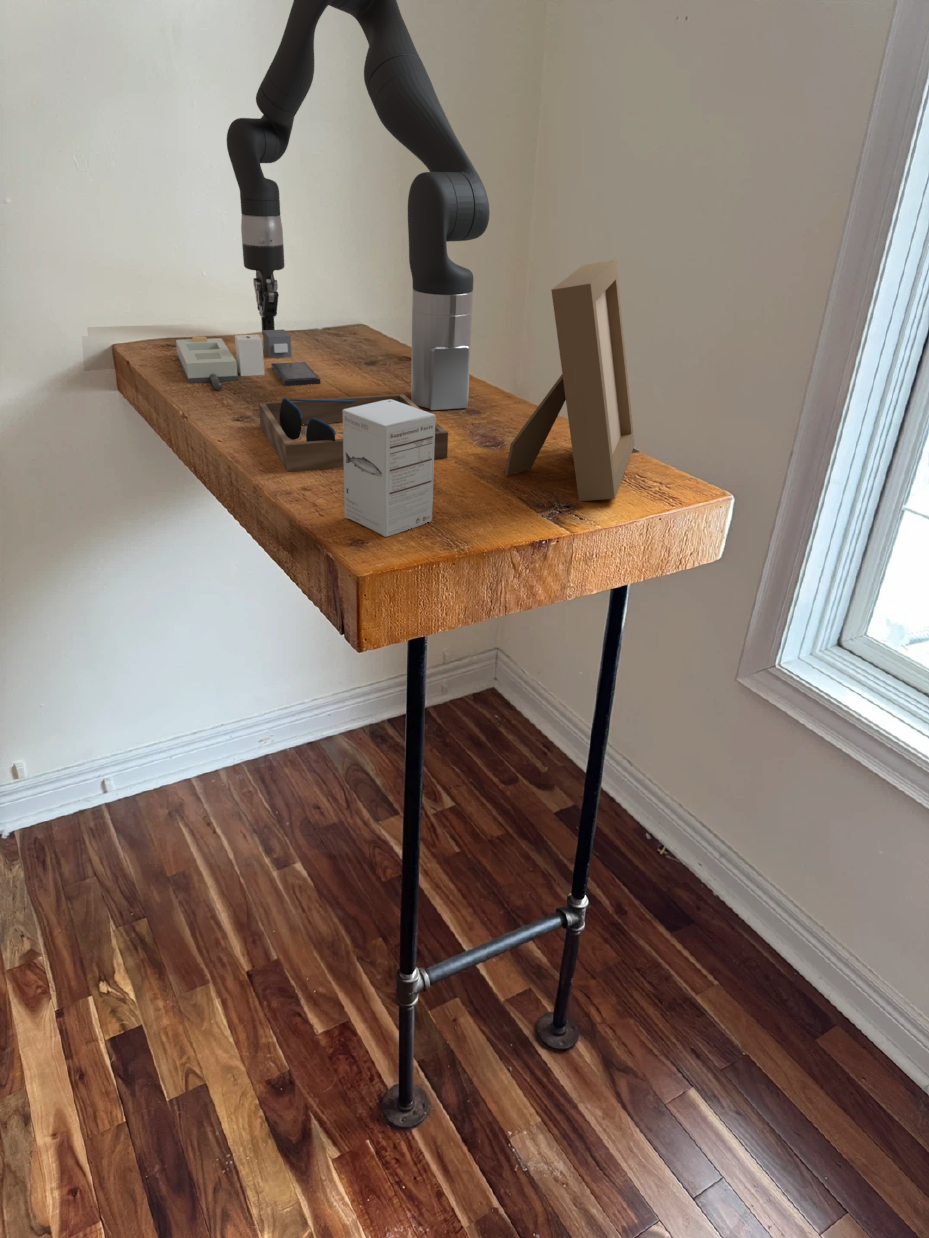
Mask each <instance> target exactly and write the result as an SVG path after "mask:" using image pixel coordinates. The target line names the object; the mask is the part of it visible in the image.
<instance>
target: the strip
mask: <svg viewBox="0 0 929 1238" xmlns="http://www.w3.org/2000/svg"><path fill="white" fill-rule="evenodd" d="M175 342H176V343H175V344H176V345H175V346H176V353H177V358H178V361H179V364H180V365H181V368H182V370H183V372H184V375H185V378H186V380H187V382H188V384H197V383H211V384H212V386H213V387H214V388H213V389H214V390H216V391H221V390H222V388H223V385H222V384H221V382H235V381H239V378H238V376H239V375H238V370H237V359H236V358H235V357H234V355H233V354H232V352H231V351H230V349H229V348H228V346H227V344H226V343H225V342H224V340H223V339H222V337H221V338H215V337H214V338H207V336H206V335H205V336H192V337H191V338H188V339H175Z"/></svg>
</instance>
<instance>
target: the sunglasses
mask: <svg viewBox="0 0 929 1238" xmlns="http://www.w3.org/2000/svg"><path fill="white" fill-rule="evenodd" d="M281 401H282V403H281V407H280V425H281V428H282V430H283V431H284V433H285V434H286V436H287V437H288V439H289V440H292V441H294V440H298V439H299V438H300V436H301V435H305V434H306V435H305V442H309V441H322V440H332V441H335V439H336V435H337V432H336V430H335V428H333V426H331V425H330V424H329V423H328V424H327V423H325V422H323V421H321V420H318V419H316V418H311V419H310V420H309V421H308V423H307V422H305V423H304V425H302V420H301V419H302V414H301V411H300V409H299V408H298V407H297V406H296V405H294V404H293V403H292V402H291V401H311V402H356V401H354V400H337V399H326V398H290V399H288V398H287V397H283V398H282V399H281ZM312 419H313V420H312ZM306 423H307V424H308V425H305V424H306ZM302 426H303V427H302ZM338 434H342V435H343V431H341V432H338Z"/></svg>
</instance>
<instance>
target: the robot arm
mask: <svg viewBox="0 0 929 1238" xmlns="http://www.w3.org/2000/svg"><path fill="white" fill-rule="evenodd" d="M329 6H330V7H332V8H334V9H336V10H339V11H342V12H344V13H346V14H349V15H350V16H351V17H353V18H354V19H355V20H356V21H357V23H358V24H359V26H360V28H361V29H362V31H363V33H364V36H365V38H366V40H367V44H368V49H367V52H366V56H365V61H364V68H363V79H364V80H363V81H364V84H365V85H364V86H365V88H366V90H367V93H368V96H369V98H370V101H371V103H372V105H373V108H374V110H375V112H376V114H377V116H378V119H379V120H380V121H379V122H381V124H382V125H383V127H384V128H385V129H386V130H387V131H388V132H389V133H390V134H391V135H392V137H394V138H395V139H396V140H397V141H398V142H399V143H400V144H401V145H403V146H404V148H406V149H407V150H408V151H409V152H410V153H412V154H413V156H415V157H416V158H417V159H418V160H420V161H421V162H422V164H423V165H424V166H425V167H426V168H427V169H428V170H427V171H425V172H421V173H419V174H417V175H416V176H415V177H414V178H413V180H412V182H411V185H410V188H409V191H408V198H407V231H408V234H407V235H408V257H409V258H408V261H409V268H410V272H411V273H410V275H411V277H412V298H411V299H412V305H411V306H412V309H411V311H412V313H411V363H410V364H411V371H410V375H411V380H410V382H411V383H410V384H411V385H410V387H411V388H410V389H411V390H410V393H411V394H410V400H411V401H412V402H413V403H414V404H415V405H417V406H418V407H422V408H426V409H429V410H430V411H438V410H439V411H440V410H441V411H442V410H453V409H454V410H455V409H467V408H468V403H469V391H470V388H469V387H470V367H471V366H470V364H471V360H470V359H471V343H472V339H471V337H472V320H473V319H472V318H473V317H472V316H473V301H474V300H473V298H474V297H473V296H474V274H473V272H472V271H471V270H470V269H469V268H467V267H464V266H462V265H459V264H457V263H455V262H453V260H451V259H450V257H449V256H448V249H447V247H448V245H447V242H449V243H450V242H463V241H464V242H465V241H470V240H471V241H473V240H476V239H478V238H480V237H481V236H483V234H484V233H485V232H486V230H487V228H488V224H489V221H490V204H489V203H490V201H489V197H488V194H487V191H486V188H485V185H484V183H483V181H482V179H481V177H480V175H479V173H478V172H477V169H476V168H475V166H474V164H473V163H472V161H471V160H470V158H469V156H468V154H467V153H466V152H465V150H464V148H463V146H462V144H461V142H460V141H459V139H458V137H457V135H456V134H455V132H454V129H453V128H452V125H451V123H450V121H449V119H448V117H447V115H446V113H445V111H444V109H443V107H442V105H441V103H440V101H439V98H438V96H437V94H436V91H435V88H434V86H433V83H432V81H431V78H430V76H429V75H428V72H427V70H426V68H425V67H426V66H425V65H424V63H423V61H422V59H421V56H419V53H418V51H417V49H416V47H415V44H414V42H413V40H412V37H411V34H410V33H409V30H408V27H407V25H406V23H405V20H404V19H403V16H402V12H401V10H400V8H399V5H398V2H397V0H293V2H292V6H291V7H290V12H289V14H288V18H287V22H286V26H285V27H284V31H283V35H282V36H281V37H282V38H281V40H280V43H279V46H278V48H277V51H276V52H275V55H274V57H273V59H272V61H271V63H270V65H269V67H268V69H267V71H266V72H265V74H264V77H263V79H262V81H261V82H260V85H259V87H258V89H257V91H256V95H255V103H256V105H257V107H258V109H259V111H260V112H261V113H262V114H263V115H262V116H261V117H260V118H255V117H254V118H252V117H239V118H236V119H235V120H233V121H232V122H231V123H230V124H229V127H228V128H227V133H226V147H227V152H228V153H227V154H228V158H229V160H230V162H231V166H232V169H233V173H234V176H235V179H236V182H237V185H238V189H239V199H240V212H241V221H240V222H241V224H240V229H241V230H240V231H241V243H242V244H241V246H242V247H241V248H242V259H243V266H244V268H245V269H247V270H250V271H255V277H253V279H252V280H253V281H252V282H253V284H252V285H253V288H254V293H255V301H256V304H257V310H258V313H259V316H260V317H261V333H262V336H263V330H276V329H275V318H276V317H277V315H278V304H279V296H280V295H279V292H278V288H279V287H278V280H277V279H275V275H274V272H275V271H281V270H283V269H284V268H285V250H284V249H285V248H284V246H285V245H284V231H283V223H282V218H281V202H280V188H279V186H278V184H277V181H275V180H272V179H269V178H267V177H265V175H264V172H263V169H262V166H261V164H272V163H273V164H274V163H276V162H277V161H278V160H280V159H281V158H282V157H283V155H284V154H285V153H286V152H287V149H288V146H289V142H290V139H291V133H292V132H293V131H292V130H293V125H294V120H295V116H296V115H297V113H298V111H299V110H300V107H302V104H303V102H304V101H305V99H306V98H307V95H308V93H309V90H310V89H311V86H312V85H313V81H314V74H315V34H316V33H315V32H316V29H317V26H318V22H319V21H320V19H321V17H322V14H324V12H325V11H326V9H327V7H329Z"/></svg>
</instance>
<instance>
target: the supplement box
mask: <svg viewBox="0 0 929 1238" xmlns="http://www.w3.org/2000/svg"><path fill="white" fill-rule="evenodd" d="M420 409H421V408H420ZM420 409H417V408H415V407H412V406H409V405H406V404H403V403H400V402H398V401H395V400H392V399H389V400H383V401H378V402H374V403H369V404H365V405H361V406H356V407H351V408H347V409H344V410H343V411H342V412H343V422H342V432H343V434H342V439H343V460H344V467H343V499H344V501H343V502H344V503H343V504H344V505H343V506H344V507H343V509H344V510H343V511H344V518H345V519H348V520H351V521H353V522H355V523H357V524H359V525H361V526H364V527H366V528H368V529H369V530H372V531H374V532H376V533H378V534H380V535H381V536H382V537H384V538H388V537H390V536H393V535H397V534H399V533H403V532H406V531H408V529H409V530H411V528H412V529H414V528H417V527H418V528H419V527H420V526H423V525H426V524H428V523H427V522H429V523H431V522H432V521H433V503H434V502H433V499H434V497H433V496H434V475H435V473H434V472H435V471H434V470H435V469H434V467H435V459H434V446H435V422H436V419H437V417H436V414H434V413H431V412H428V411H425V410H423V409H421V410H420ZM425 523H426V524H425Z"/></svg>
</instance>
